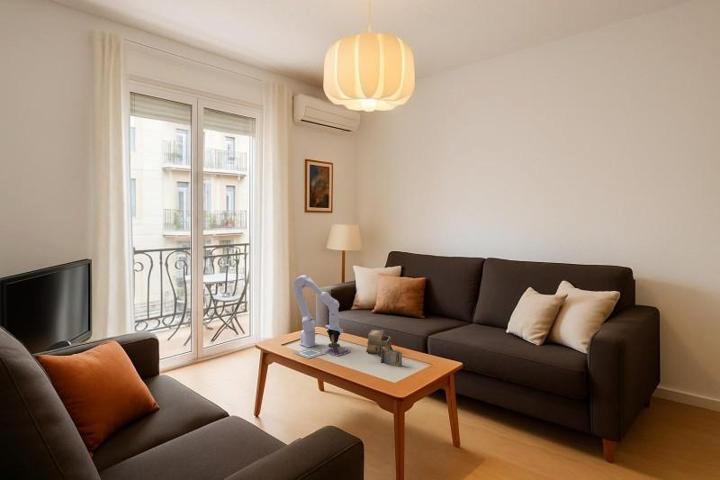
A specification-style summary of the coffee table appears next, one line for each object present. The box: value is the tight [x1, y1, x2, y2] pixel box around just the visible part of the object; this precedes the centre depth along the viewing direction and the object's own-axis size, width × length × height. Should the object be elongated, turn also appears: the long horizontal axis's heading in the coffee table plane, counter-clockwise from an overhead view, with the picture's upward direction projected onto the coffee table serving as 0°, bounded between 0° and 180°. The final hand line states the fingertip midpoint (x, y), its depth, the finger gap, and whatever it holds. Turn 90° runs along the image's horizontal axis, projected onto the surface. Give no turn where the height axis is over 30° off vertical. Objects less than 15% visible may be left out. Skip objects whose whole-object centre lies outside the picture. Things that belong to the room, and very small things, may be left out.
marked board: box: [293, 347, 327, 360], centre depth 248 cm, size 14×13×1 cm
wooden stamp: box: [327, 334, 341, 349], centre depth 261 cm, size 5×5×8 cm
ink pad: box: [324, 346, 352, 357], centre depth 250 cm, size 11×11×1 cm
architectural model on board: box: [380, 347, 403, 367], centre depth 231 cm, size 11×3×10 cm, turn 60°
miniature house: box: [365, 329, 393, 357], centre depth 251 cm, size 15×14×11 cm
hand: (334, 341), depth 261 cm, fingers closed on wooden stamp, 3 cm apart
